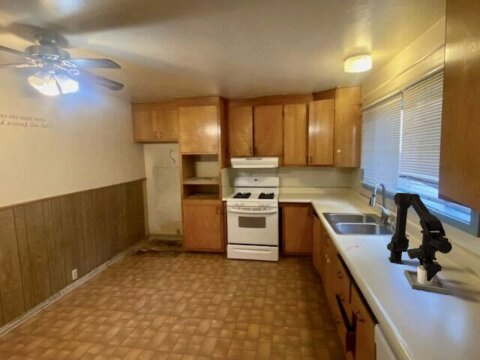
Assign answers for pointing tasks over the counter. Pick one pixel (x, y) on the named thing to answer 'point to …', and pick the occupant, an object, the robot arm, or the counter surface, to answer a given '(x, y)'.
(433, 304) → the counter surface
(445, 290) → the tray
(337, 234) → the counter surface
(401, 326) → the counter surface
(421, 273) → the cream cup
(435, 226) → the robot arm
